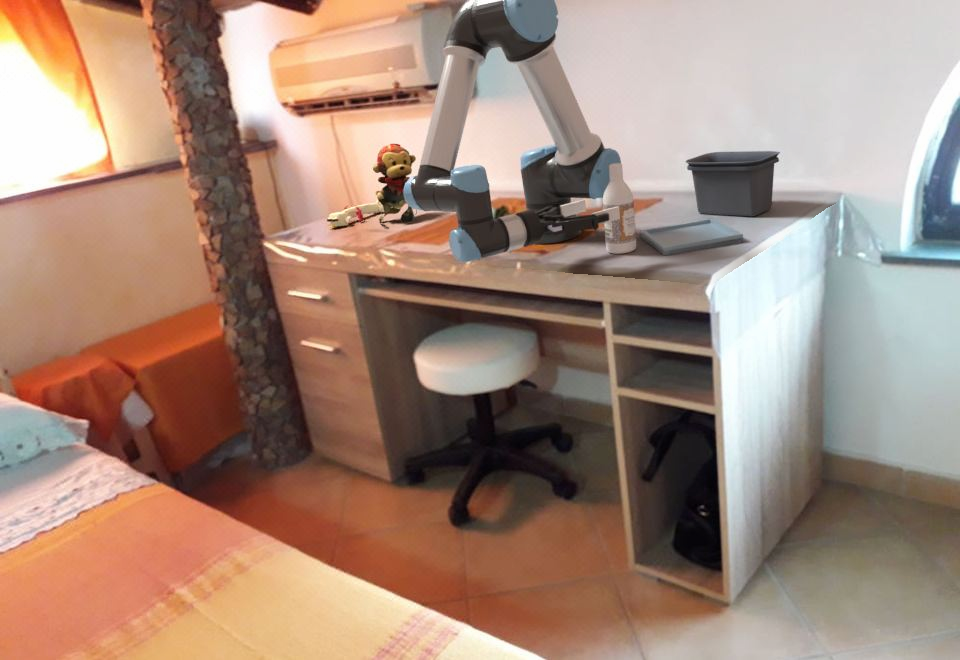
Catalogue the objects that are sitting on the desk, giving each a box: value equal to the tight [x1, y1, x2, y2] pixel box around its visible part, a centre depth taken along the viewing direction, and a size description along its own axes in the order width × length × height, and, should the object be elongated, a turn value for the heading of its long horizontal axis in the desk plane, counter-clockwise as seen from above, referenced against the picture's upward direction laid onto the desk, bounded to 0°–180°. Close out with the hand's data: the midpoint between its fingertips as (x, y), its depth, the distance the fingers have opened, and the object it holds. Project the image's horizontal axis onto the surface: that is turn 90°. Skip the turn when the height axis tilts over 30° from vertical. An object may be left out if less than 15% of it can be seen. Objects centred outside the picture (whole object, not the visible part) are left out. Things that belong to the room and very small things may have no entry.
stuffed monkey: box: [372, 143, 418, 224], centre depth 250 cm, size 15×17×25 cm
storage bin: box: [685, 150, 781, 217], centre depth 198 cm, size 21×16×14 cm
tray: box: [640, 217, 744, 256], centre depth 182 cm, size 18×18×2 cm
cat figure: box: [326, 190, 384, 229], centre depth 263 cm, size 10×9×25 cm
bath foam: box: [602, 162, 637, 255], centre depth 179 cm, size 7×7×20 cm
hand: (601, 208), depth 176 cm, fingers open, 13 cm apart
